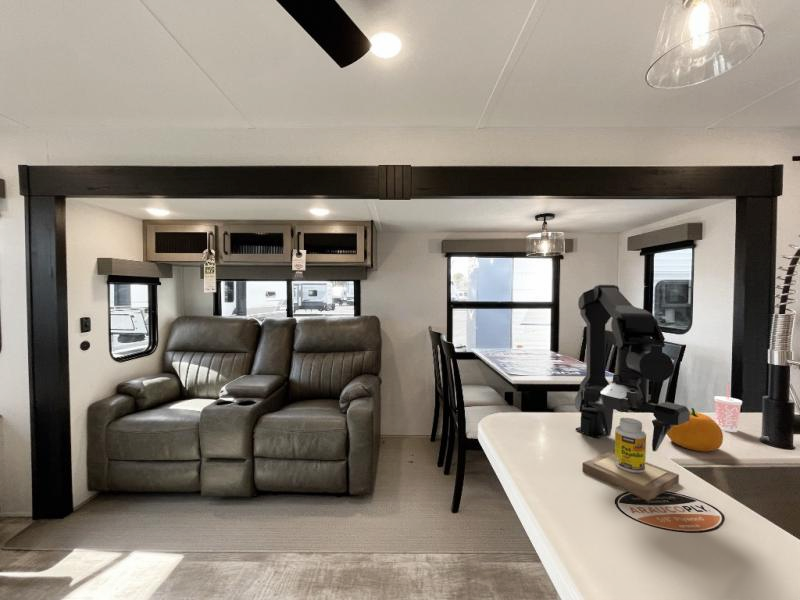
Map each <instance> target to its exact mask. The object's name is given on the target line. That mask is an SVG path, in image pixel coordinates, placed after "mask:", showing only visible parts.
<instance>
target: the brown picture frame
mask: <svg viewBox="0 0 800 600" xmlns="http://www.w3.org/2000/svg"><path fill="white" fill-rule="evenodd" d="M582 472H585V473H587V474H588V475H591V476H593V477H595V478H597V479H600V480H601V481H604V482H606V483H608V484H610V485H613V486H614V487H617V488H618V489H620V490H623V491H625V492H628V493H630V494H632V495H633V496H636V497H638V498H640V499H642V500H645V501H646V502H649V501H651V500H654V498H656V497H658V496H659V495H661V494H663V493H665V492H666V491H668V490H670V489H671V488H673V487H675V486H677V485H678V484H679V483H680V481H679V480H680V475H679V473H675V472H673V471H670V470H668V469H665V468H662V467H660V466H657V465H655V464H652V463H649V462H647V461H645V470H644V471H643V472H640V473H633V472H628V471H625V470H623V469H621V468H619V467H618V466H617V465H616V464H615V449H613V450H611V451H609V452H606V453H604V454H601V455H599V456H596V457H593V458H592V459H589V460H586V461H584V462H582ZM674 485H675V486H674ZM657 495H658V496H657Z"/></svg>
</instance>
